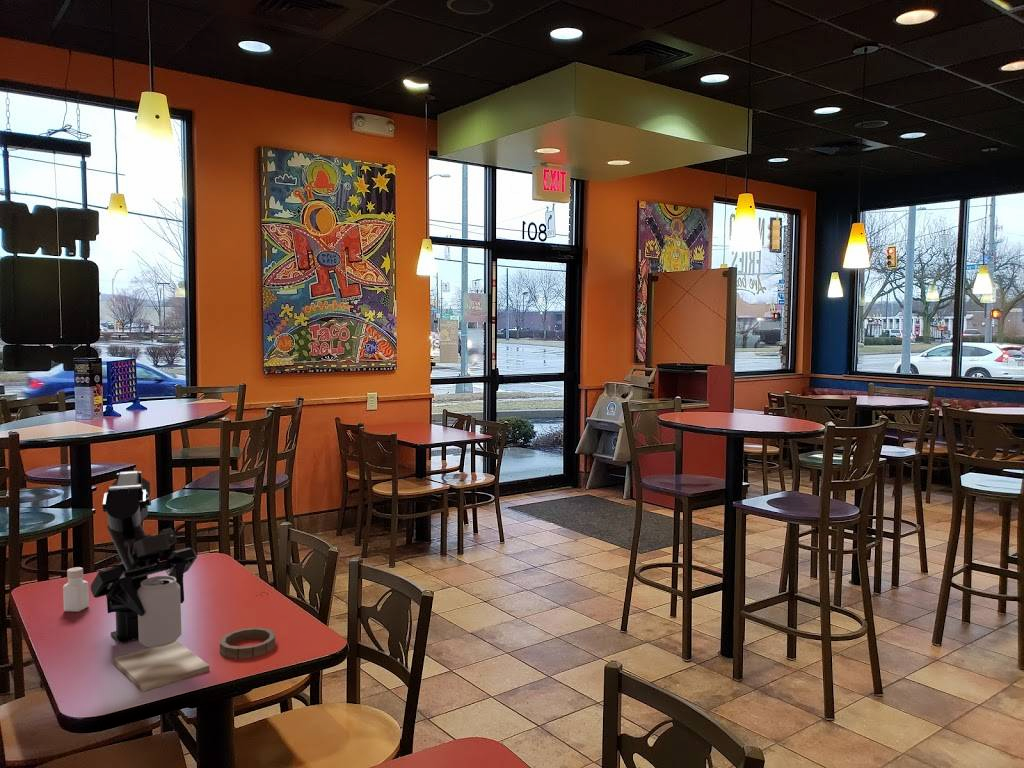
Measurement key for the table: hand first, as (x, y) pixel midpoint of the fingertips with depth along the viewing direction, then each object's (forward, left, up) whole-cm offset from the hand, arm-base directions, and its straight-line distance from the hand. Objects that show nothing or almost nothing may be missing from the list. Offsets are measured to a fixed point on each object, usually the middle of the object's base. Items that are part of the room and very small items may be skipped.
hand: (163, 608), depth 143 cm
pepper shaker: (-46, -3, -12) cm, 48 cm away
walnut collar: (+2, +16, -12) cm, 20 cm away
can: (-1, 0, -7) cm, 7 cm away
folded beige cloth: (-1, 0, -12) cm, 12 cm away
